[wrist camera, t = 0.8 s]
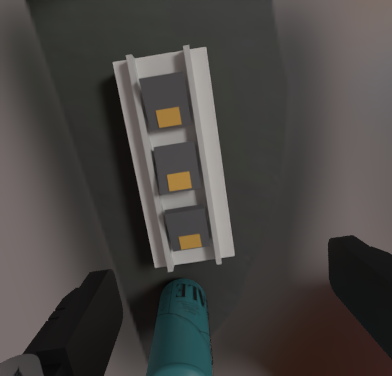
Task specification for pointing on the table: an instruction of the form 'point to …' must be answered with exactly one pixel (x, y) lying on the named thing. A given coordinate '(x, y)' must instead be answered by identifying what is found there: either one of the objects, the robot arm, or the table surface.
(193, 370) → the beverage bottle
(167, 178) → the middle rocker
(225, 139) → the table surface
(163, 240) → the power strip
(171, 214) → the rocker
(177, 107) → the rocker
